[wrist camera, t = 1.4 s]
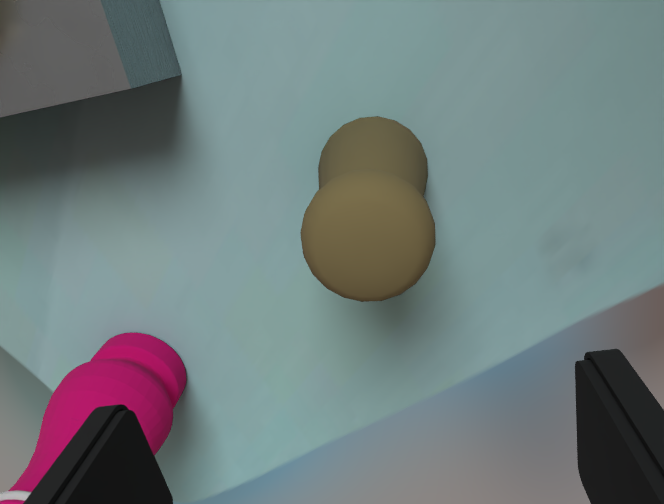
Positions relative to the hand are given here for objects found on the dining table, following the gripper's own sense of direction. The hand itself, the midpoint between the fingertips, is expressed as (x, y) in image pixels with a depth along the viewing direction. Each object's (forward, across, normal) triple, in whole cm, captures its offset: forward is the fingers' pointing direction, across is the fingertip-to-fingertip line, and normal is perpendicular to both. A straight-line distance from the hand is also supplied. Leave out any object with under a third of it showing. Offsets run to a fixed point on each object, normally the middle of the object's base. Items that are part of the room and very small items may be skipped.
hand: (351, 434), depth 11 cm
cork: (+20, 0, 0) cm, 20 cm away
